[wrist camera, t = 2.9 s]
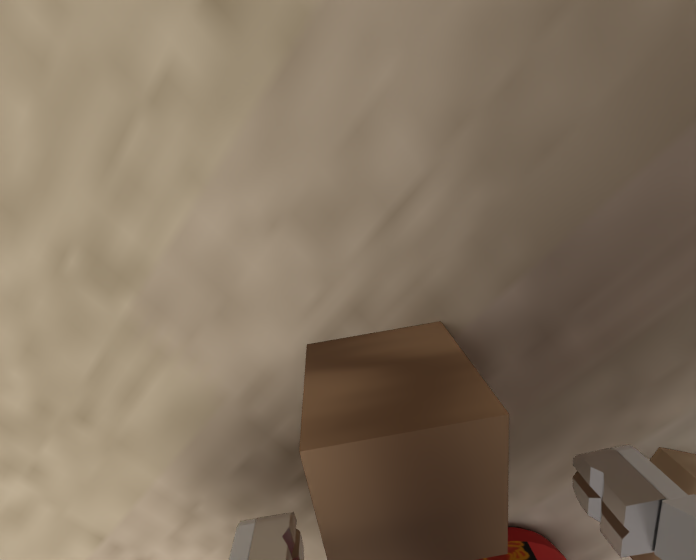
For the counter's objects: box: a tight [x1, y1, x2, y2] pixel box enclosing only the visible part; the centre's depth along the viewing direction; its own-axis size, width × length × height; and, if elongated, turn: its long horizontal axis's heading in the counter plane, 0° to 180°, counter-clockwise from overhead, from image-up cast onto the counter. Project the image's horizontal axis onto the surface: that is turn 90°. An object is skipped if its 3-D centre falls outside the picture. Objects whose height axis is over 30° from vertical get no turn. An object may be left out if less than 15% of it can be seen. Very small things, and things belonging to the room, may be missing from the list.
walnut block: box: [299, 321, 509, 560], centre depth 11 cm, size 5×5×5 cm
